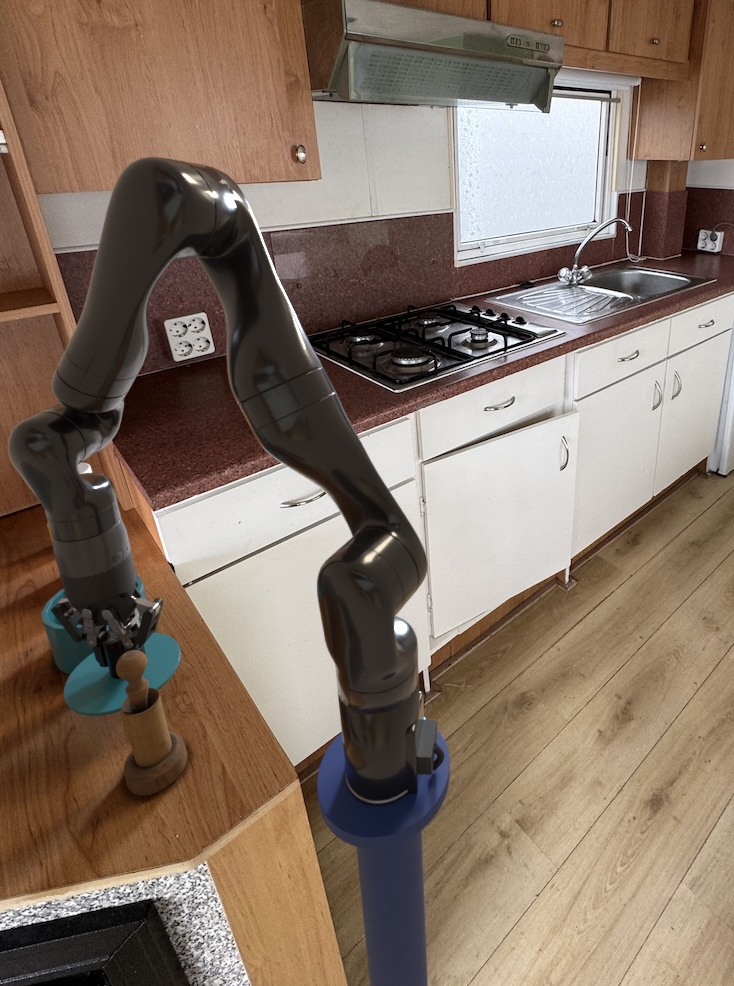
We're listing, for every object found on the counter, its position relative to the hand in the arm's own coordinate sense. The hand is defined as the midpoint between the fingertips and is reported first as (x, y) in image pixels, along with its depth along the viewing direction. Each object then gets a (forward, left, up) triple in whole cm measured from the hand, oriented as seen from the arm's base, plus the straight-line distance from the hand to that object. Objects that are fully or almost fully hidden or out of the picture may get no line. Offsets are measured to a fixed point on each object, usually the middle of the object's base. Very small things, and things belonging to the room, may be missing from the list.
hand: (122, 662), depth 78 cm
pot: (+11, -10, -7) cm, 17 cm away
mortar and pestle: (-9, +9, -7) cm, 15 cm away
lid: (0, 0, -2) cm, 2 cm away
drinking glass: (+33, -37, -7) cm, 50 cm away
